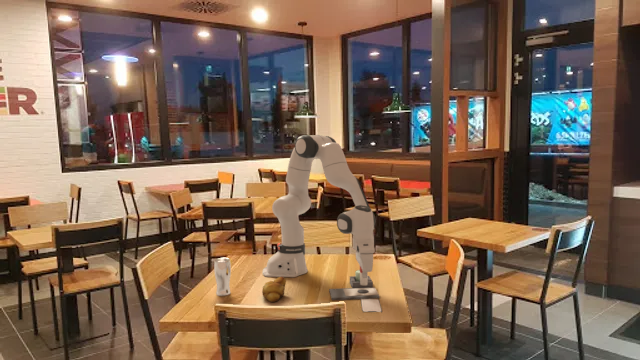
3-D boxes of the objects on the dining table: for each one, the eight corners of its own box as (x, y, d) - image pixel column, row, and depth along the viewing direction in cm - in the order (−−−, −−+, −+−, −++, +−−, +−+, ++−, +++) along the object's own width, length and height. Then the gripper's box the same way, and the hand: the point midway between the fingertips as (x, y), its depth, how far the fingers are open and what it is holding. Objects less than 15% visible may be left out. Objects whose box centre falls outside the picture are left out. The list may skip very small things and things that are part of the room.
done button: (356, 282, 202) (356, 273, 202) (354, 278, 207) (354, 270, 207) (367, 281, 203) (367, 273, 202) (365, 278, 208) (365, 269, 207)
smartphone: (360, 298, 191) (362, 313, 175) (360, 297, 191) (362, 312, 175) (378, 298, 190) (382, 313, 175) (378, 297, 190) (382, 312, 175)
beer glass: (223, 297, 192) (222, 263, 191) (211, 294, 196) (210, 260, 195) (234, 292, 198) (233, 259, 197) (223, 289, 202) (222, 256, 200)
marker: (360, 285, 192) (360, 267, 191) (359, 283, 195) (359, 265, 195) (368, 285, 192) (368, 266, 192) (367, 282, 196) (366, 264, 195)
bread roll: (281, 304, 184) (280, 285, 184) (257, 303, 186) (257, 284, 185) (287, 293, 197) (287, 275, 196) (265, 292, 198) (265, 274, 198)
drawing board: (331, 300, 188) (331, 297, 188) (329, 291, 199) (329, 288, 199) (379, 298, 189) (379, 295, 189) (374, 289, 200) (374, 286, 200)
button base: (352, 289, 201) (352, 282, 200) (349, 282, 210) (349, 276, 209) (372, 288, 201) (372, 282, 201) (369, 282, 210) (369, 275, 210)
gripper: (352, 238, 202) (352, 269, 204) (360, 250, 182) (360, 284, 183) (366, 238, 203) (366, 268, 204) (375, 249, 182) (375, 283, 184)
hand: (363, 276), depth 194 cm, fingers closed on marker, 3 cm apart
